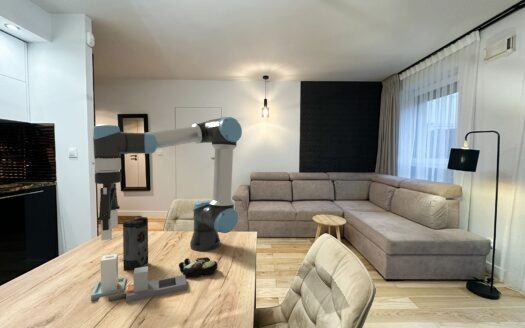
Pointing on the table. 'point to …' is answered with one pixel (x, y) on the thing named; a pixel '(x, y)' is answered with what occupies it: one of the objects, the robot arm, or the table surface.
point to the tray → (98, 293)
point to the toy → (198, 267)
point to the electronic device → (135, 243)
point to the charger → (109, 272)
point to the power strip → (151, 286)
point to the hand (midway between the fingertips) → (110, 233)
